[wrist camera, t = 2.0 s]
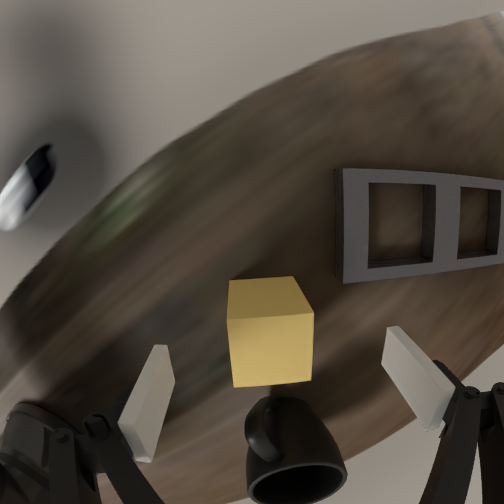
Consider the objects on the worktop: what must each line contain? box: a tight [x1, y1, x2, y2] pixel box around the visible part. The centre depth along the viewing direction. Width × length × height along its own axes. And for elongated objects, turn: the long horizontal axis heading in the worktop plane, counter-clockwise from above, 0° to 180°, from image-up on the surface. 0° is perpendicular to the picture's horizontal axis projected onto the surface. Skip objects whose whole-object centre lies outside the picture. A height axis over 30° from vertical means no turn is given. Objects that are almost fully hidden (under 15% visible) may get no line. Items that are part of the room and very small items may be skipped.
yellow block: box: [227, 276, 314, 387], centre depth 21 cm, size 5×5×7 cm
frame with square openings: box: [334, 168, 504, 284], centre depth 22 cm, size 20×8×2 cm, turn 93°
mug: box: [245, 396, 348, 504], centre depth 22 cm, size 8×12×10 cm
